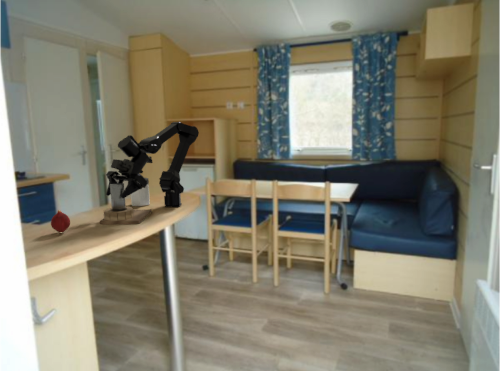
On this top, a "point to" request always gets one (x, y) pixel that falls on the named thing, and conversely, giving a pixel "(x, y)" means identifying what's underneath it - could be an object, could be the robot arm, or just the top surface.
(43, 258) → the top surface
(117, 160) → the robot arm
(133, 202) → the jar
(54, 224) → the pomegranate
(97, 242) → the top surface
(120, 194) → the chrome metal cylinder
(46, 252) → the top surface
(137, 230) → the top surface
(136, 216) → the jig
